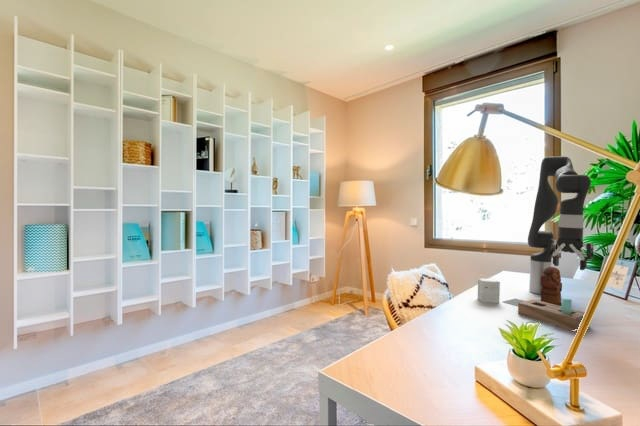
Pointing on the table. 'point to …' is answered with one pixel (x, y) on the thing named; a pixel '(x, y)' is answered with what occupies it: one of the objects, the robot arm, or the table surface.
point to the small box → (488, 290)
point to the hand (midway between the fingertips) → (568, 267)
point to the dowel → (566, 305)
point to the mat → (513, 302)
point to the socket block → (550, 314)
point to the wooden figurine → (551, 286)
